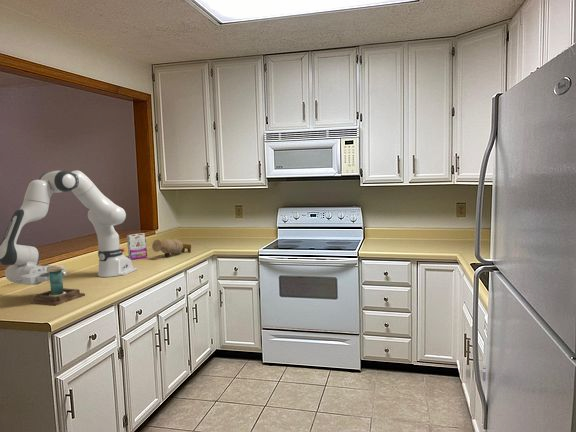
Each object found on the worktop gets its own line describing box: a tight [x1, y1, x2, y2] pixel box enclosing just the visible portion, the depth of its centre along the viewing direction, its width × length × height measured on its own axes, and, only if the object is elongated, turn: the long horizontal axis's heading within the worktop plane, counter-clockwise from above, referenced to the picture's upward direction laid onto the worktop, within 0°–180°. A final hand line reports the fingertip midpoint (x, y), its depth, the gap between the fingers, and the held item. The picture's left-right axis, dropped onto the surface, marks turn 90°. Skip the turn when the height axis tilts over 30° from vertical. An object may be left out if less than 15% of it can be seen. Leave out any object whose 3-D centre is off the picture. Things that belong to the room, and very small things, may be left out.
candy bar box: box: [126, 232, 148, 261], centre depth 300 cm, size 11×5×16 cm, turn 126°
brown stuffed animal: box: [151, 238, 192, 258], centre depth 304 cm, size 10×12×30 cm
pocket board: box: [29, 287, 85, 306], centre depth 206 cm, size 16×16×3 cm
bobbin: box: [46, 264, 66, 296], centre depth 205 cm, size 7×7×14 cm
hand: (56, 276), depth 205 cm, fingers open, 8 cm apart
